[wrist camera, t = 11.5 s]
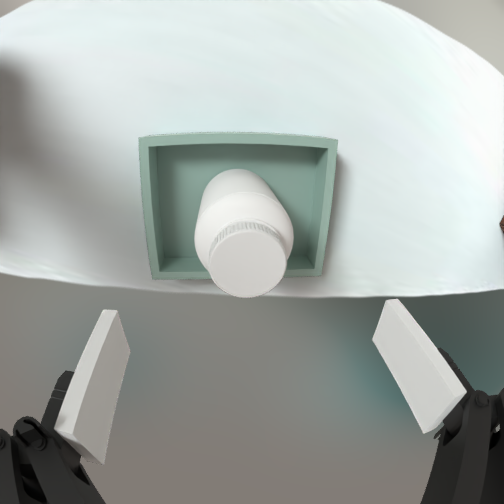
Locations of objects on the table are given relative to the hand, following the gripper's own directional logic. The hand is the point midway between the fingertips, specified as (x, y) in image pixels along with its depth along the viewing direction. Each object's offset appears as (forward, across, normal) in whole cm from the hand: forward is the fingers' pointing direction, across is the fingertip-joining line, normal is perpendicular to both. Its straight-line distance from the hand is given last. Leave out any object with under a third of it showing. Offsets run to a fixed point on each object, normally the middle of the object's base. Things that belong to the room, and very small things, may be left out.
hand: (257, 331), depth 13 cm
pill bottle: (+22, 0, 0) cm, 22 cm away
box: (+22, 0, 0) cm, 22 cm away
